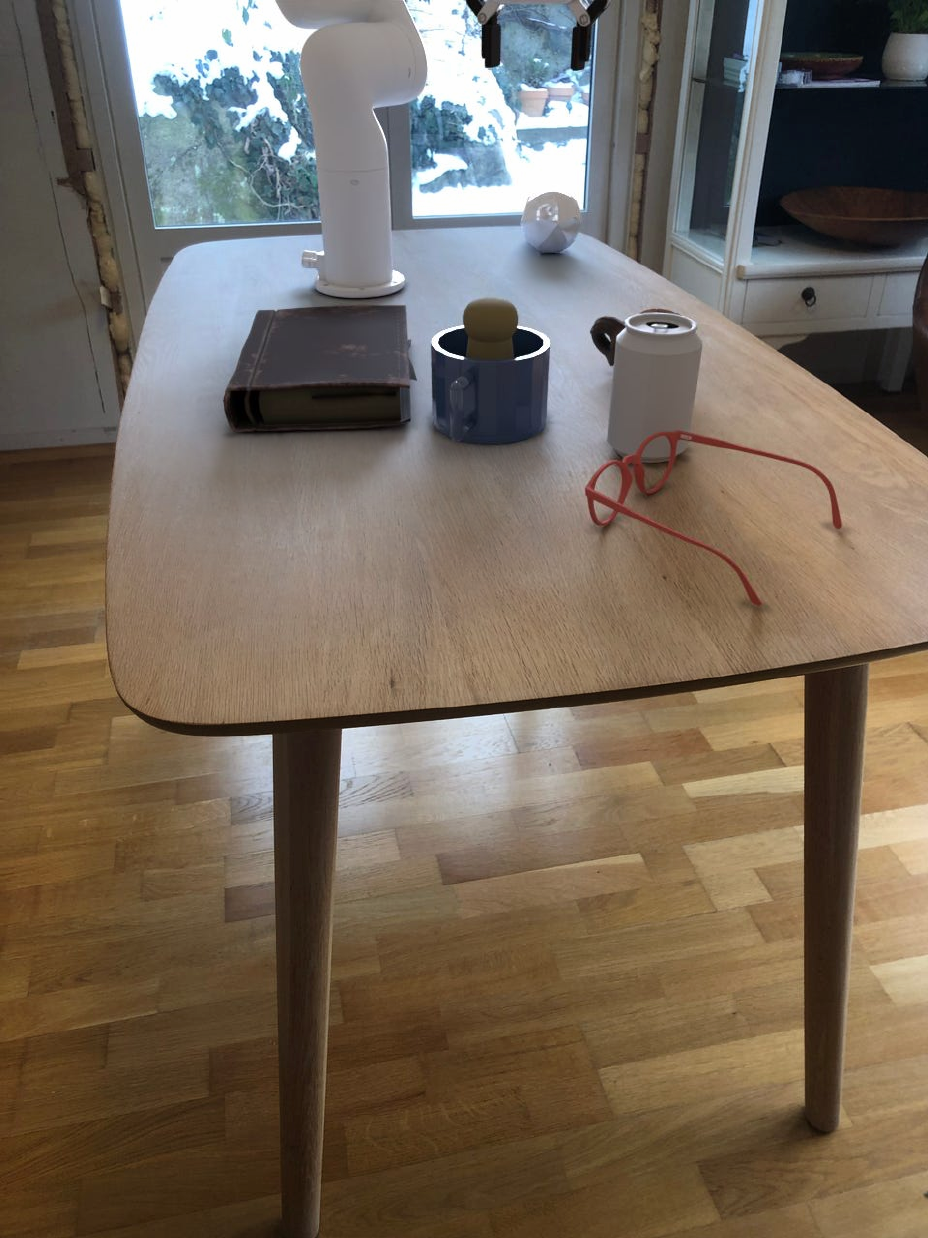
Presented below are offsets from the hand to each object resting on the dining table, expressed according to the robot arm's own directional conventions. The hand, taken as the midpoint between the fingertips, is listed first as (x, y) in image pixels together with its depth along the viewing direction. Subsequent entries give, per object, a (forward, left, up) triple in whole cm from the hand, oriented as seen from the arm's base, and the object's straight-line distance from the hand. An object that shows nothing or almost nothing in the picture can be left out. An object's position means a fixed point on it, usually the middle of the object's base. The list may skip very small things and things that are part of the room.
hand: (534, 68), depth 103 cm
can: (+22, -30, -28) cm, 47 cm away
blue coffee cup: (+6, -31, -28) cm, 42 cm away
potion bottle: (-11, +42, -28) cm, 51 cm away
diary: (-13, -26, -28) cm, 41 cm away
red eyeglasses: (+30, -44, -28) cm, 60 cm away
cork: (+6, -29, -28) cm, 40 cm away
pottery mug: (+17, -11, -28) cm, 35 cm away
